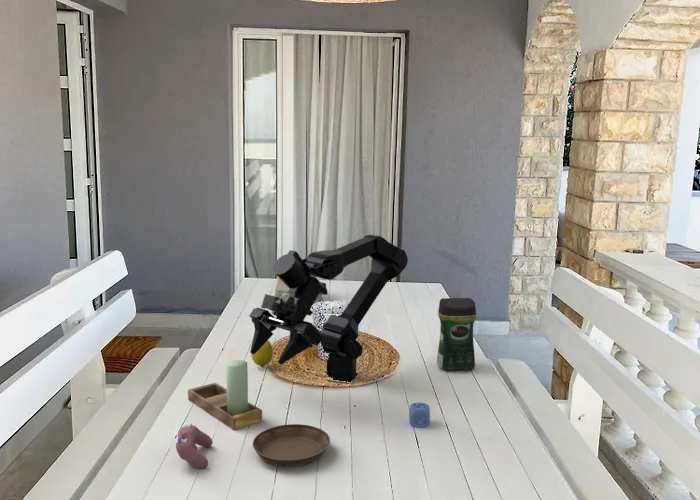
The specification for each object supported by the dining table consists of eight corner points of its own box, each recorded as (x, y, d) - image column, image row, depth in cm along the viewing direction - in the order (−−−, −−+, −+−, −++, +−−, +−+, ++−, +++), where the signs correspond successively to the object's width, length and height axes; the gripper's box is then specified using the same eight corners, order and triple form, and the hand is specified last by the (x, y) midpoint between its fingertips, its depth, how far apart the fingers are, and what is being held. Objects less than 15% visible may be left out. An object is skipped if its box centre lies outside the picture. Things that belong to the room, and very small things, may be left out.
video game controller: (194, 453, 135) (176, 423, 133) (214, 442, 135) (197, 413, 133) (187, 478, 125) (168, 447, 124) (209, 467, 125) (191, 435, 124)
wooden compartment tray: (188, 399, 156) (187, 389, 156) (215, 392, 161) (215, 382, 160) (233, 429, 141) (233, 418, 141) (262, 420, 146) (261, 410, 145)
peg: (249, 412, 149) (248, 360, 146) (246, 421, 144) (246, 367, 142) (229, 412, 149) (227, 360, 146) (225, 421, 144) (224, 367, 142)
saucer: (258, 477, 123) (258, 463, 122) (248, 440, 137) (248, 428, 136) (338, 467, 127) (338, 453, 126) (320, 432, 141) (320, 420, 140)
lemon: (269, 371, 174) (268, 341, 173) (248, 370, 175) (247, 340, 174) (275, 364, 179) (275, 335, 178) (255, 362, 181) (255, 333, 179)
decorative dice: (409, 419, 147) (409, 402, 146) (427, 419, 147) (428, 402, 146) (410, 427, 143) (410, 409, 142) (429, 428, 143) (430, 409, 142)
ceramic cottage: (264, 303, 239) (267, 261, 236) (293, 296, 252) (296, 256, 249) (300, 313, 230) (303, 270, 228) (328, 305, 244) (331, 264, 241)
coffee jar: (469, 362, 182) (472, 294, 179) (477, 372, 175) (480, 302, 171) (433, 362, 182) (435, 294, 178) (439, 373, 174) (442, 302, 170)
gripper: (254, 273, 157) (217, 330, 151) (312, 287, 145) (273, 350, 139) (280, 299, 164) (246, 355, 158) (337, 315, 152) (302, 375, 146)
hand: (265, 358), depth 150 cm, fingers open, 9 cm apart
